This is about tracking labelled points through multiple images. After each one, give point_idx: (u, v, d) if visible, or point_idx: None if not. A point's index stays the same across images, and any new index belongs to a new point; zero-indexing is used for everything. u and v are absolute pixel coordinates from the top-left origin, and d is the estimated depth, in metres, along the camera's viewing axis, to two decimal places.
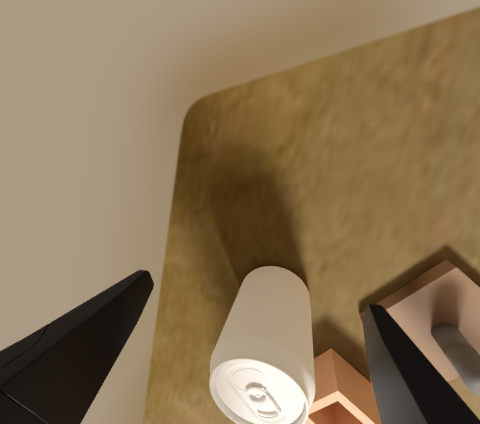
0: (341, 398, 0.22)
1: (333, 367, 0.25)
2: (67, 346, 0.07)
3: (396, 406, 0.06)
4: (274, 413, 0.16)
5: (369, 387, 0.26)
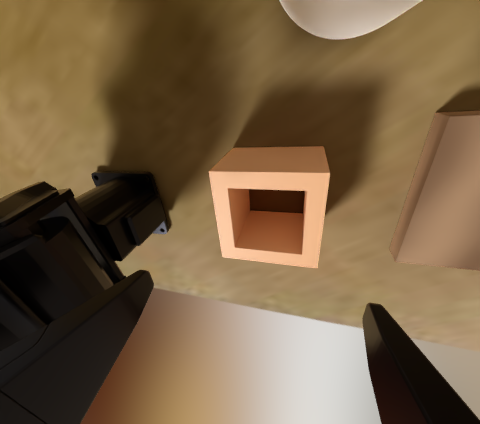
0: (318, 190, 0.11)
1: None
2: (67, 346, 0.07)
3: (396, 406, 0.06)
4: None
5: None
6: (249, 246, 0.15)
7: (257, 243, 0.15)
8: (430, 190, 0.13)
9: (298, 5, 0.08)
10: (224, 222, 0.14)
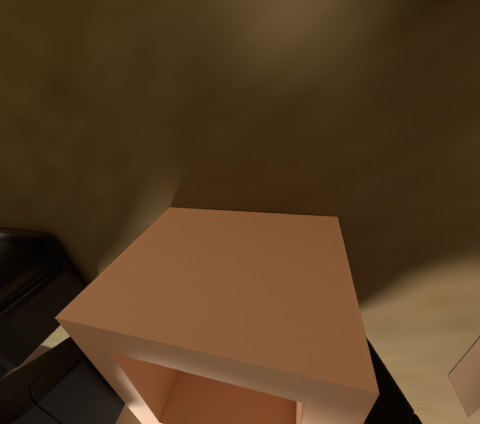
0: (338, 410, 0.04)
1: (341, 268, 0.06)
2: None
3: None
4: None
5: None
6: (189, 419, 0.07)
7: (206, 409, 0.08)
8: None
9: None
10: (126, 392, 0.06)
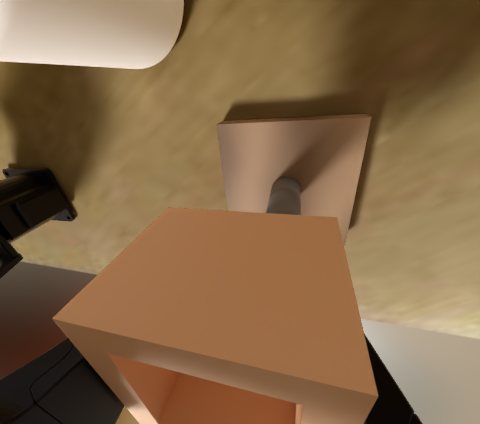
0: (337, 413, 0.04)
1: (340, 269, 0.05)
2: None
3: None
4: None
5: None
6: (187, 421, 0.07)
7: (205, 410, 0.07)
8: (228, 178, 0.18)
9: None
10: (124, 393, 0.06)
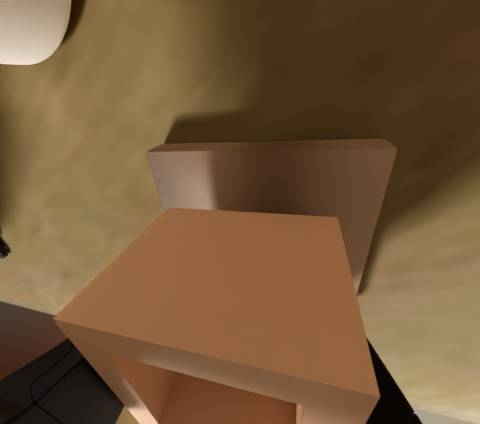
0: (338, 413, 0.04)
1: (341, 269, 0.05)
2: None
3: None
4: None
5: None
6: (188, 421, 0.07)
7: (205, 410, 0.07)
8: None
9: None
10: (125, 393, 0.06)
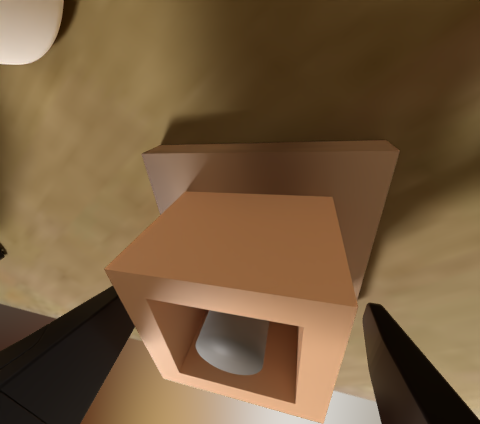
0: (329, 330, 0.05)
1: (334, 233, 0.07)
2: (67, 346, 0.07)
3: (396, 406, 0.06)
4: None
5: None
6: (205, 370, 0.09)
7: None
8: None
9: None
10: (154, 341, 0.08)
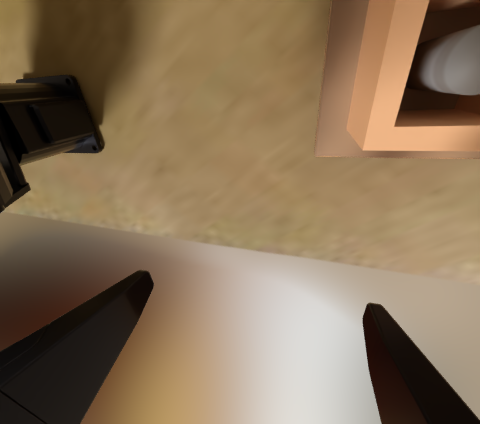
0: None
1: None
2: (67, 346, 0.07)
3: (396, 406, 0.06)
4: None
5: None
6: (417, 125, 0.09)
7: (426, 123, 0.09)
8: (334, 54, 0.12)
9: None
10: (393, 73, 0.08)
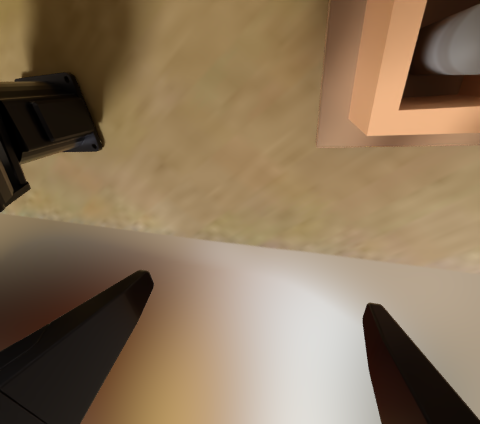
0: None
1: None
2: (67, 346, 0.07)
3: (396, 406, 0.06)
4: None
5: None
6: (422, 108, 0.09)
7: (431, 106, 0.09)
8: (334, 42, 0.12)
9: None
10: (397, 54, 0.08)
